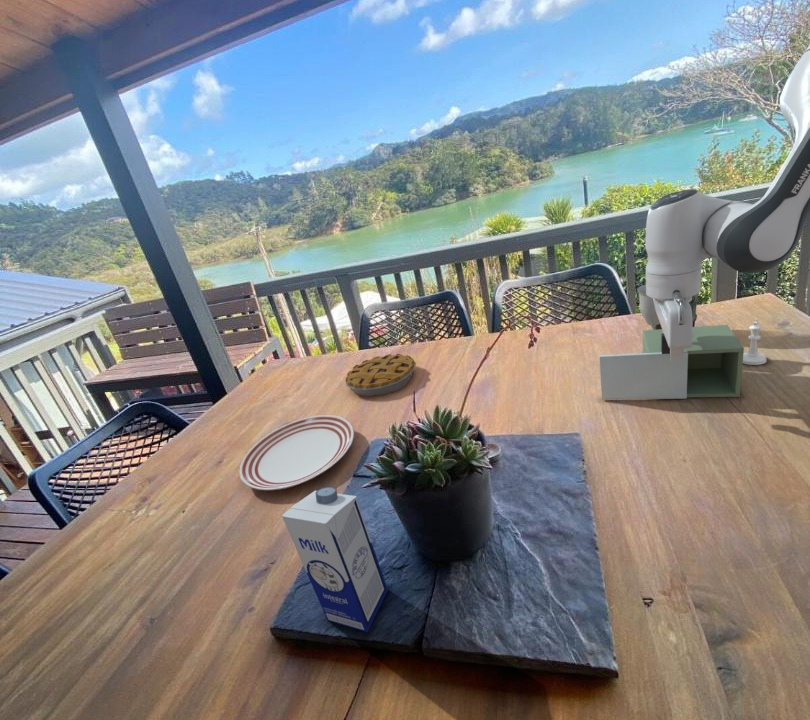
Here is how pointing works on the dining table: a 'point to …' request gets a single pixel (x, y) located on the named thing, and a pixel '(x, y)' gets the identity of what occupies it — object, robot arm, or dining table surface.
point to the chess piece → (754, 347)
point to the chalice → (647, 308)
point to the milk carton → (338, 556)
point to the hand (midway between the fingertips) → (671, 350)
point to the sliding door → (644, 375)
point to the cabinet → (708, 360)
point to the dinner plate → (296, 452)
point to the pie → (380, 375)
